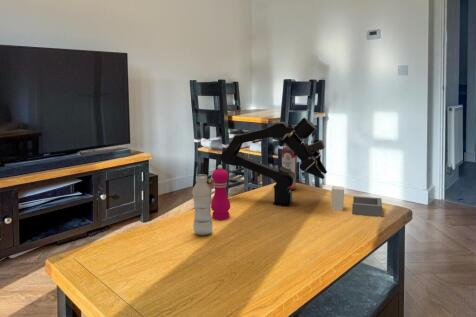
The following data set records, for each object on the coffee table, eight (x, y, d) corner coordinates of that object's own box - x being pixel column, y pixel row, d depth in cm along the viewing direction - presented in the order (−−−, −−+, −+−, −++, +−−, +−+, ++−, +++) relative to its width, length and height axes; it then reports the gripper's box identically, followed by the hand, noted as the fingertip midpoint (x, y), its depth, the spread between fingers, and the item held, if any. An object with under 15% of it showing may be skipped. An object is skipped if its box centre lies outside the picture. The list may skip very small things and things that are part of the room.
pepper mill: (207, 217, 147) (205, 165, 143) (220, 212, 152) (220, 162, 148) (220, 221, 142) (219, 168, 138) (234, 216, 147) (233, 164, 143)
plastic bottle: (197, 239, 127) (195, 178, 123) (190, 231, 133) (188, 174, 129) (215, 235, 129) (214, 176, 125) (208, 228, 135) (207, 172, 131)
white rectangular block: (330, 209, 154) (331, 188, 153) (331, 206, 159) (332, 185, 157) (342, 210, 153) (343, 189, 151) (343, 207, 157) (344, 186, 155)
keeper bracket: (352, 214, 149) (352, 203, 148) (353, 205, 159) (353, 196, 158) (381, 216, 146) (382, 206, 145) (380, 207, 156) (381, 198, 155)
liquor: (298, 188, 186) (299, 129, 180) (294, 192, 179) (295, 131, 174) (283, 186, 189) (284, 128, 183) (279, 190, 182) (279, 130, 177)
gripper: (309, 136, 145) (338, 167, 143) (315, 130, 162) (342, 157, 161) (287, 156, 149) (316, 186, 147) (296, 148, 166) (322, 175, 165)
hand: (325, 175), depth 155 cm, fingers open, 9 cm apart
